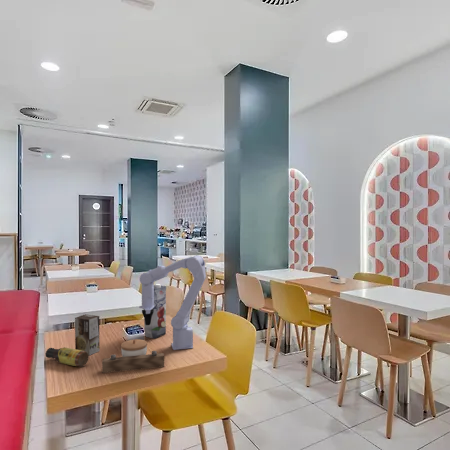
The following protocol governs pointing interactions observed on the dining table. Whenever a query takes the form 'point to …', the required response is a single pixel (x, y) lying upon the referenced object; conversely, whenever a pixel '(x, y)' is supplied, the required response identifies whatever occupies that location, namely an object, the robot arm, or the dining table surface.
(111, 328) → the dining table surface
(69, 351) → the sauce bottle
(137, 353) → the lidded jar
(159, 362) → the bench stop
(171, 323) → the robot arm
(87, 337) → the coffee box
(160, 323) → the juice carton
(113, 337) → the dining table surface
